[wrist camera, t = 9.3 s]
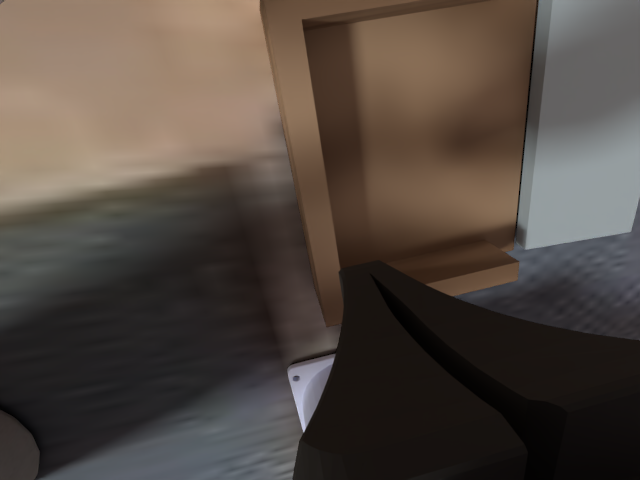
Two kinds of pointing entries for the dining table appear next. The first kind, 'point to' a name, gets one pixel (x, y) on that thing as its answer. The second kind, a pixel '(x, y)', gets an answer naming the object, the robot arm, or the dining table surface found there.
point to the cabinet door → (582, 123)
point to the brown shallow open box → (404, 134)
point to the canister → (17, 450)
